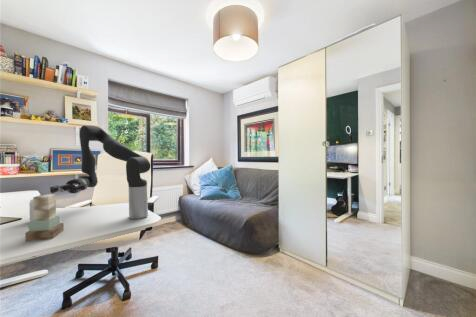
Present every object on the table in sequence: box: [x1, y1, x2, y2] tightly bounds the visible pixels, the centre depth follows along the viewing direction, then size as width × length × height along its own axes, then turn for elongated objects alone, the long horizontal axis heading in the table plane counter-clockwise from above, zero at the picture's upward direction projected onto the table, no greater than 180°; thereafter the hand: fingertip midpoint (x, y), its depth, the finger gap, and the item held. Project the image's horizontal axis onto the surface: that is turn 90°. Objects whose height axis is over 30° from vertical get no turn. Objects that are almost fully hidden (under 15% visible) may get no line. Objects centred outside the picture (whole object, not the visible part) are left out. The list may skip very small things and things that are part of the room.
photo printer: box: [28, 198, 57, 222], centre depth 108 cm, size 10×4×12 cm, turn 123°
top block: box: [28, 215, 61, 232], centre depth 88 cm, size 7×7×4 cm
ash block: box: [32, 193, 57, 221], centre depth 87 cm, size 5×5×10 cm
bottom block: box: [24, 222, 65, 242], centre depth 88 cm, size 9×9×4 cm
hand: (62, 190), depth 100 cm, fingers open, 8 cm apart
